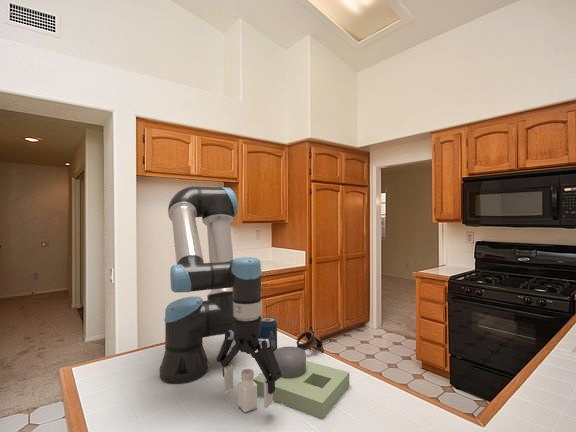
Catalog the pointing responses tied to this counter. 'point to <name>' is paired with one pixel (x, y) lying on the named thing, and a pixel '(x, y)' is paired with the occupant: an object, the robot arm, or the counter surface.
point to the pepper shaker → (247, 391)
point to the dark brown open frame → (309, 341)
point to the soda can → (269, 331)
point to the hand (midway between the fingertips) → (247, 397)
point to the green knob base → (305, 383)
